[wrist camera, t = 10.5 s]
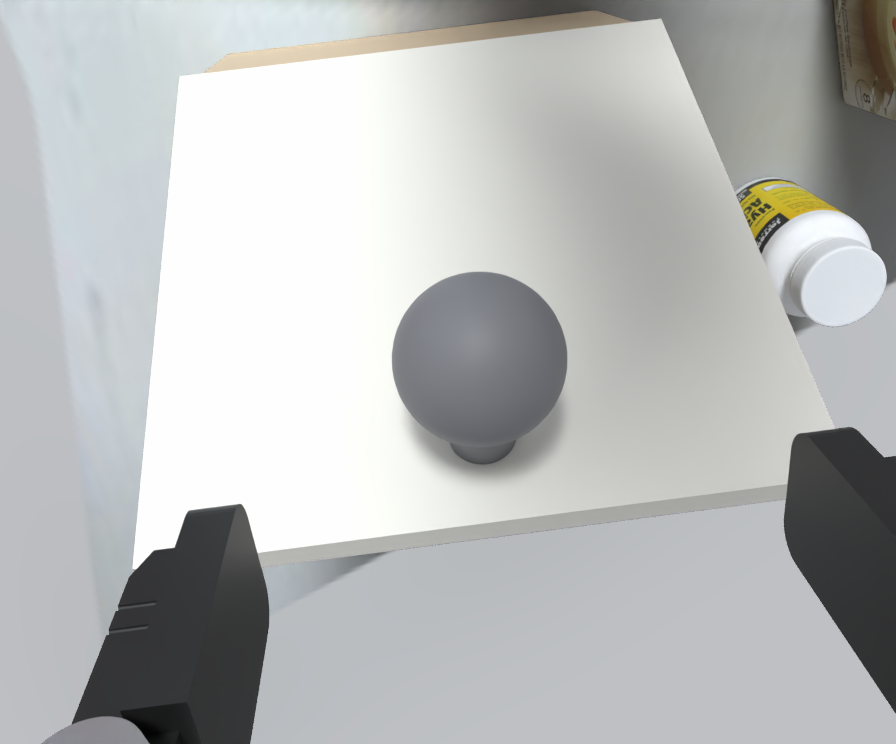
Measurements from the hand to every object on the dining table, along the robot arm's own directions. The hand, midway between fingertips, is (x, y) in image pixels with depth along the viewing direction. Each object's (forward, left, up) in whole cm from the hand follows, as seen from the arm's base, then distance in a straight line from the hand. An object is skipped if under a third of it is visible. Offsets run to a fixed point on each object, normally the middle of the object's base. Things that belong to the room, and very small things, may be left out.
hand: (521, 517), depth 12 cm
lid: (+1, 0, -16) cm, 16 cm away
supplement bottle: (+8, +18, -34) cm, 40 cm away
